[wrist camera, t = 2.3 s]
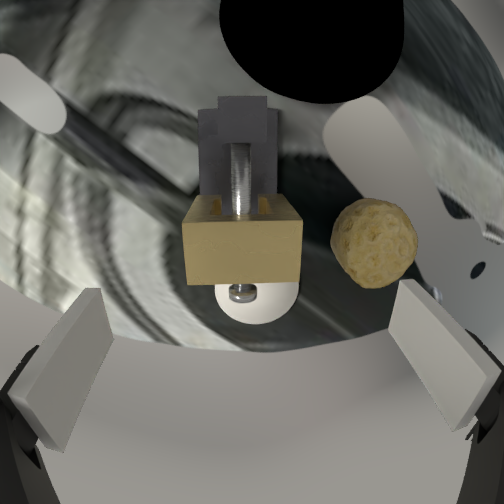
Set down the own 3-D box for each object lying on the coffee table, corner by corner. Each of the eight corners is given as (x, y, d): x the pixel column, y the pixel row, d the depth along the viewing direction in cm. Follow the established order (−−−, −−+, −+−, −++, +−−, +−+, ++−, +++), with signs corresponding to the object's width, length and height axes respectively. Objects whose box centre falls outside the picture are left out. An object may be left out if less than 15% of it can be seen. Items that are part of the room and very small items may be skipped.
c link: (199, 241, 26) (187, 284, 19) (197, 195, 25) (181, 223, 17) (280, 239, 26) (299, 281, 19) (281, 193, 25) (302, 220, 18)
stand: (203, 235, 34) (180, 325, 18) (198, 110, 29) (162, 85, 13) (274, 234, 34) (308, 321, 19) (276, 109, 29) (321, 84, 13)
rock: (313, 246, 39) (335, 314, 33) (331, 178, 30) (368, 253, 24) (376, 239, 40) (404, 301, 34) (405, 177, 31) (448, 243, 25)
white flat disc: (217, 322, 38) (217, 325, 38) (212, 249, 35) (212, 251, 34) (294, 319, 39) (295, 322, 38) (300, 247, 35) (301, 249, 35)
